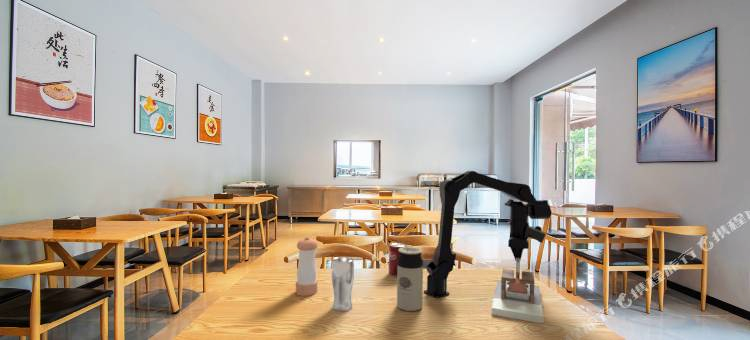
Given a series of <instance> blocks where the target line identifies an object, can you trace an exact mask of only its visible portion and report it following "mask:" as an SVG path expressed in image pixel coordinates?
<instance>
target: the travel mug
mask: <svg viewBox="0 0 750 340" xmlns="http://www.w3.org/2000/svg"><path fill="white" fill-rule="evenodd" d="M399 253H400V256H399V258H398V267H397V276H396V279H397V281H396V284H397V285H396V305H397V307H398V308H399V309H401V310H403V311H405V312H406V311H407V312H415V311H419V310H420V309H422V308H423V293H424V290H423V288H424V287H423V284H424V281H423V279H424V276H423V275H424V272H423V271H424V260H423V258H422V253H423V249H422V248H421V247H414V246H413V247H412V246H407V247H403V248H400V249H399Z"/></svg>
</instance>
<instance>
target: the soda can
mask: <svg viewBox="0 0 750 340" xmlns="http://www.w3.org/2000/svg"><path fill="white" fill-rule="evenodd" d="M403 247H408V246H407V244H405V243H401V242H395V243H390V244H389V245H388V274H389V275H390V276H393V277H397V267H398V258H399V256H400V253H399V249H400V248H403Z"/></svg>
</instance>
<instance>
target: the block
mask: <svg viewBox="0 0 750 340" xmlns="http://www.w3.org/2000/svg"><path fill="white" fill-rule="evenodd" d="M508 282H509V281H508ZM509 291H512V292H519V293H526V284H524V283H522V278H520V279H517V278H516V277H514V282H509Z"/></svg>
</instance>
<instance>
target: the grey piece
mask: <svg viewBox="0 0 750 340" xmlns="http://www.w3.org/2000/svg"><path fill="white" fill-rule="evenodd" d="M520 272H521V260H520V258H516V260H515V278H517V279H521V278H520V276H521V273H520ZM506 297H508V298H514V299H521V300H527V301H529V291H528V288H527V287H526V293H519V292H512V291H509V285H507V290H506Z"/></svg>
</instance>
